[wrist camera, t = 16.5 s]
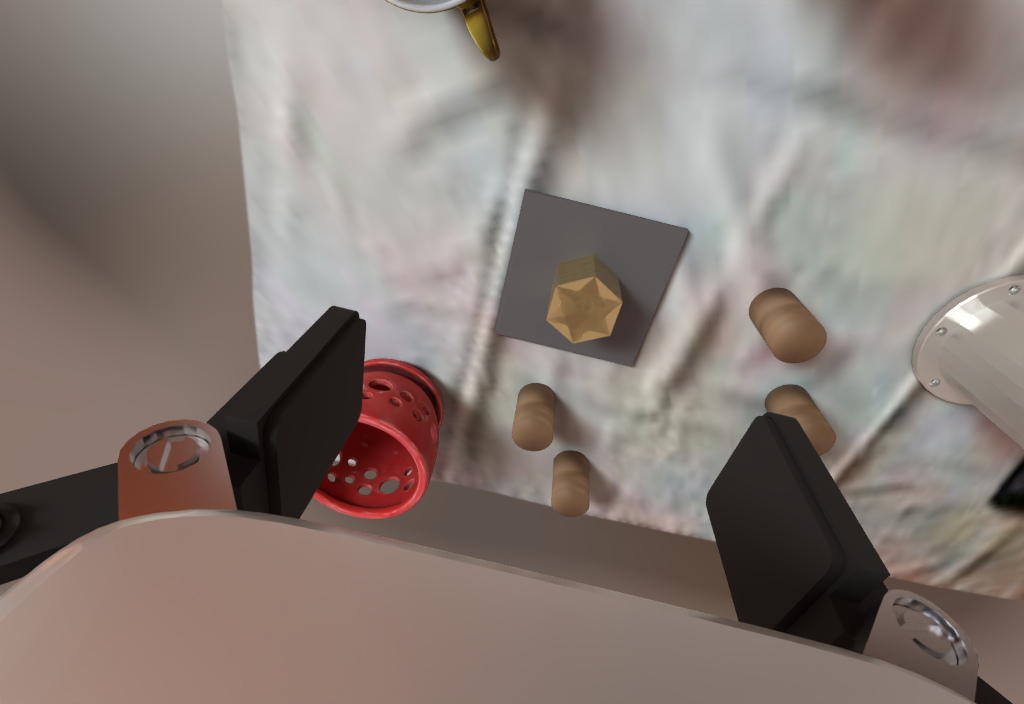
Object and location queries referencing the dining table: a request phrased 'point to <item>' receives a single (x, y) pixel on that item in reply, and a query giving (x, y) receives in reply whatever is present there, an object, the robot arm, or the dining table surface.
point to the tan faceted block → (584, 299)
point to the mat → (577, 233)
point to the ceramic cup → (474, 16)
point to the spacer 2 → (570, 484)
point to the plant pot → (387, 443)
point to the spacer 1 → (534, 417)
